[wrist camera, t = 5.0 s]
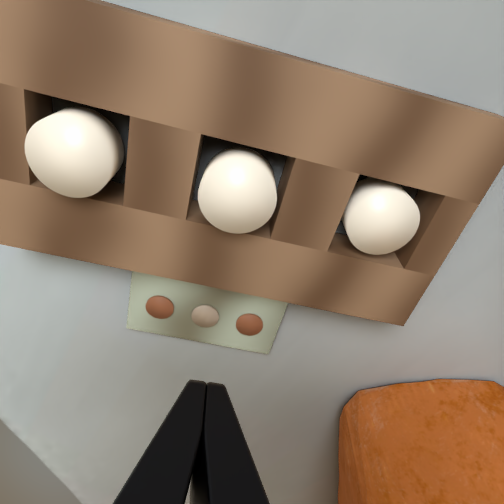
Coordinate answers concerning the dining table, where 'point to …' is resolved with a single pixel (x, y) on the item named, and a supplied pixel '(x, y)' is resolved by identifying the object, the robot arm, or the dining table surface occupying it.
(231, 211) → the off-white egg
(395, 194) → the white egg
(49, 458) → the dining table surface
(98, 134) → the cream egg
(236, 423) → the robot arm
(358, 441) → the bread
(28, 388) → the dining table surface
